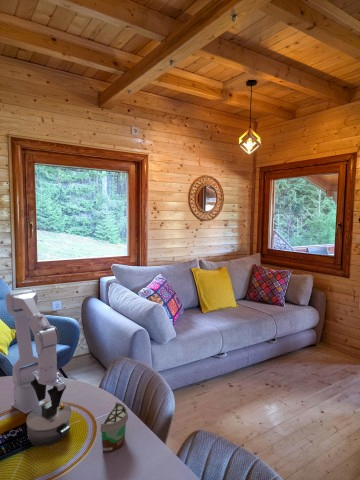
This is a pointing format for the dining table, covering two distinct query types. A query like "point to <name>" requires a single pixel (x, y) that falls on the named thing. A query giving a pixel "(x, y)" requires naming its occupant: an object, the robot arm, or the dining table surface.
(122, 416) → the food container
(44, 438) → the cooker pot
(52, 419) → the cooker lid
